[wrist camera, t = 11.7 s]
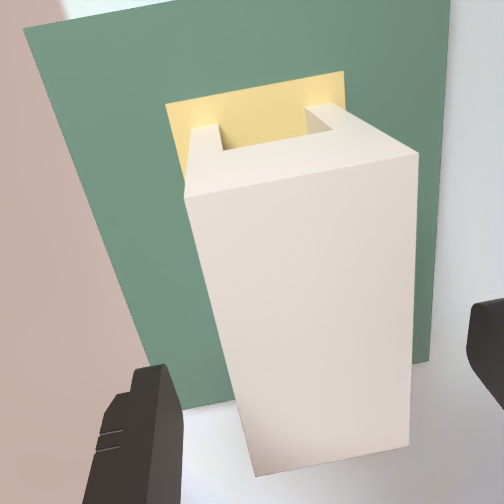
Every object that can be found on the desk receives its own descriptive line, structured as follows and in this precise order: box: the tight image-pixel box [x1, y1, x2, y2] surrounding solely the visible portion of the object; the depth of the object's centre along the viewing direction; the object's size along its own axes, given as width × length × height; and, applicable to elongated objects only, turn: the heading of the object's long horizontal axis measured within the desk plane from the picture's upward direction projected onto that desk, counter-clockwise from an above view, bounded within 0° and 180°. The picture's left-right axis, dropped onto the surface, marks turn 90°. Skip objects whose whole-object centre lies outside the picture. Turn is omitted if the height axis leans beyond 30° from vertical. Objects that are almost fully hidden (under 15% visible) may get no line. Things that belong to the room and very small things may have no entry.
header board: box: [23, 0, 450, 410], centre depth 17 cm, size 18×14×4 cm
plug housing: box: [184, 102, 419, 477], centre depth 15 cm, size 10×5×7 cm, turn 9°
